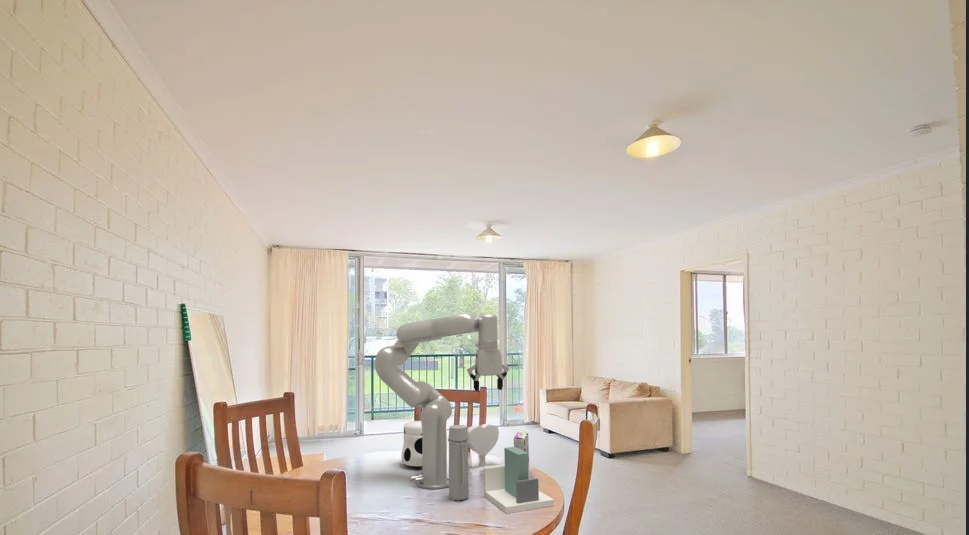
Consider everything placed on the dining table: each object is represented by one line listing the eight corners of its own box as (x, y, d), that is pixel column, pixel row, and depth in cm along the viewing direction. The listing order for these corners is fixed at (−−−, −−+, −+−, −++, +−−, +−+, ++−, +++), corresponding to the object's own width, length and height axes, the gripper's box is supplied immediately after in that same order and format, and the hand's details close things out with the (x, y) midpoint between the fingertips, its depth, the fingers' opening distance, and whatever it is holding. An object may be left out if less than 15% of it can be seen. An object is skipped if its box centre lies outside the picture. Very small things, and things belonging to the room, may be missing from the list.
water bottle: (444, 496, 191) (444, 425, 194) (465, 493, 194) (464, 423, 197) (453, 504, 183) (453, 430, 185) (474, 501, 186) (474, 428, 188)
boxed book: (518, 499, 181) (517, 454, 183) (504, 490, 191) (504, 447, 193) (528, 498, 183) (528, 453, 184) (514, 489, 193) (514, 446, 194)
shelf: (506, 513, 174) (506, 482, 175) (483, 496, 191) (483, 467, 192) (554, 505, 181) (553, 475, 182) (528, 489, 198) (527, 462, 199)
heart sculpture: (493, 463, 235) (493, 422, 237) (500, 466, 231) (499, 424, 233) (464, 469, 226) (463, 426, 228) (470, 472, 222) (470, 428, 224)
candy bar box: (517, 472, 222) (517, 431, 224) (529, 472, 221) (528, 432, 223) (513, 479, 211) (513, 437, 213) (526, 480, 210) (525, 437, 212)
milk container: (402, 461, 241) (402, 420, 243) (440, 459, 243) (440, 419, 245) (400, 471, 224) (400, 428, 226) (441, 470, 226) (441, 426, 228)
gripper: (470, 346, 200) (471, 392, 199) (512, 345, 207) (512, 390, 205) (463, 346, 207) (464, 390, 206) (503, 344, 214) (504, 388, 212)
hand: (488, 390), depth 205 cm, fingers open, 9 cm apart
